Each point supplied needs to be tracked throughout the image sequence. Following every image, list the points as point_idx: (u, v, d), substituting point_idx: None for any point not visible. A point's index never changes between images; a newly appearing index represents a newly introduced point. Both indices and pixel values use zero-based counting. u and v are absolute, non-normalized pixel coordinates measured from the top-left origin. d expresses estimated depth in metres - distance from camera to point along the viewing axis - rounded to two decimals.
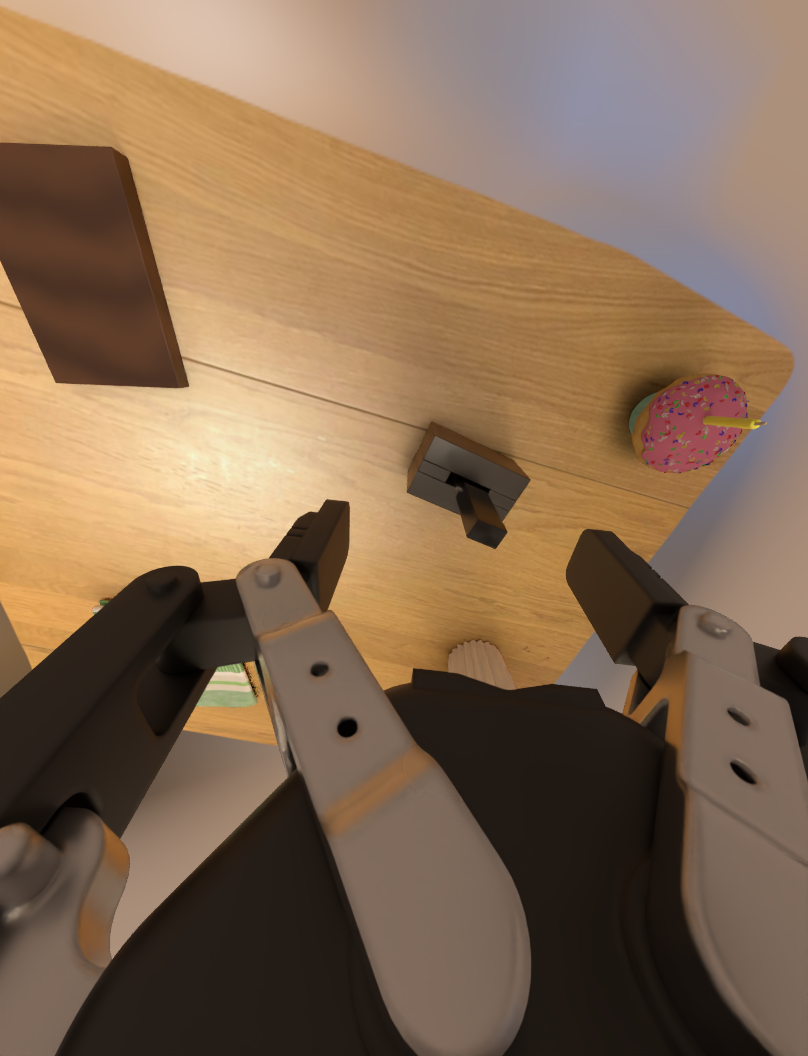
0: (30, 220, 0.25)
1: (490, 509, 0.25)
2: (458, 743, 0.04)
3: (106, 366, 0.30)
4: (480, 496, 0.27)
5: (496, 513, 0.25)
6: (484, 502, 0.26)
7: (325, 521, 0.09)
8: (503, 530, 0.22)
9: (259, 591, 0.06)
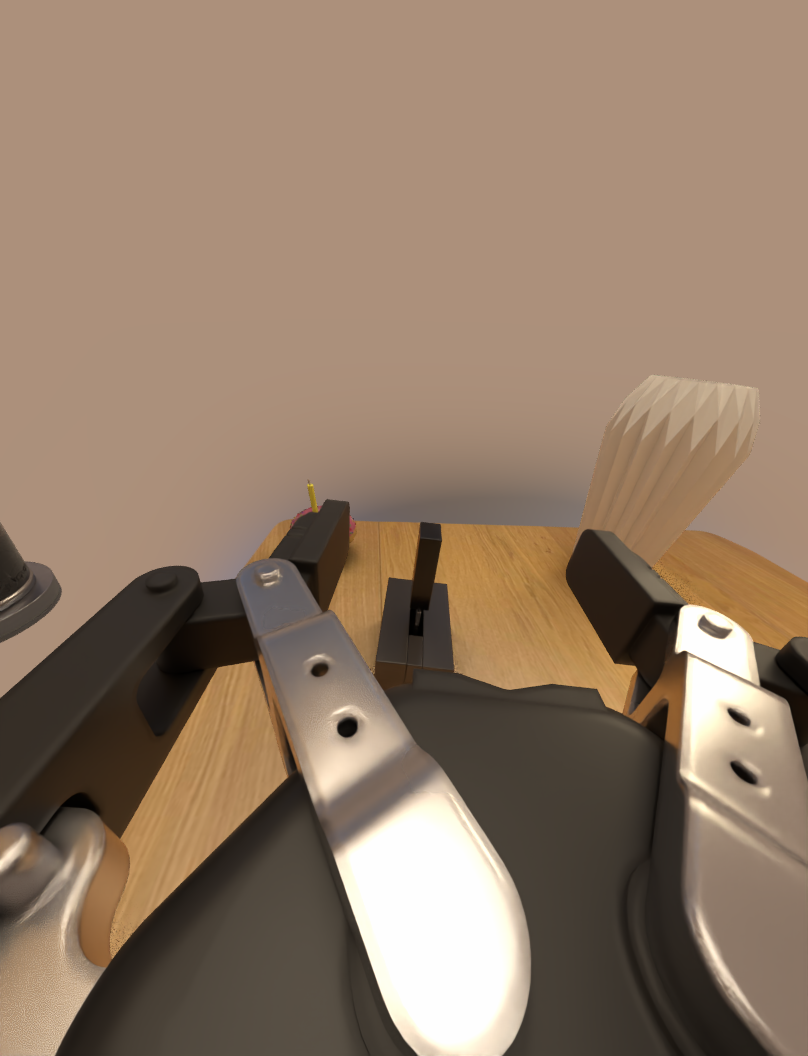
0: None
1: (415, 557, 0.26)
2: (458, 743, 0.04)
3: None
4: (412, 581, 0.27)
5: (416, 551, 0.26)
6: (414, 569, 0.26)
7: (325, 521, 0.09)
8: (420, 524, 0.25)
9: (259, 591, 0.06)
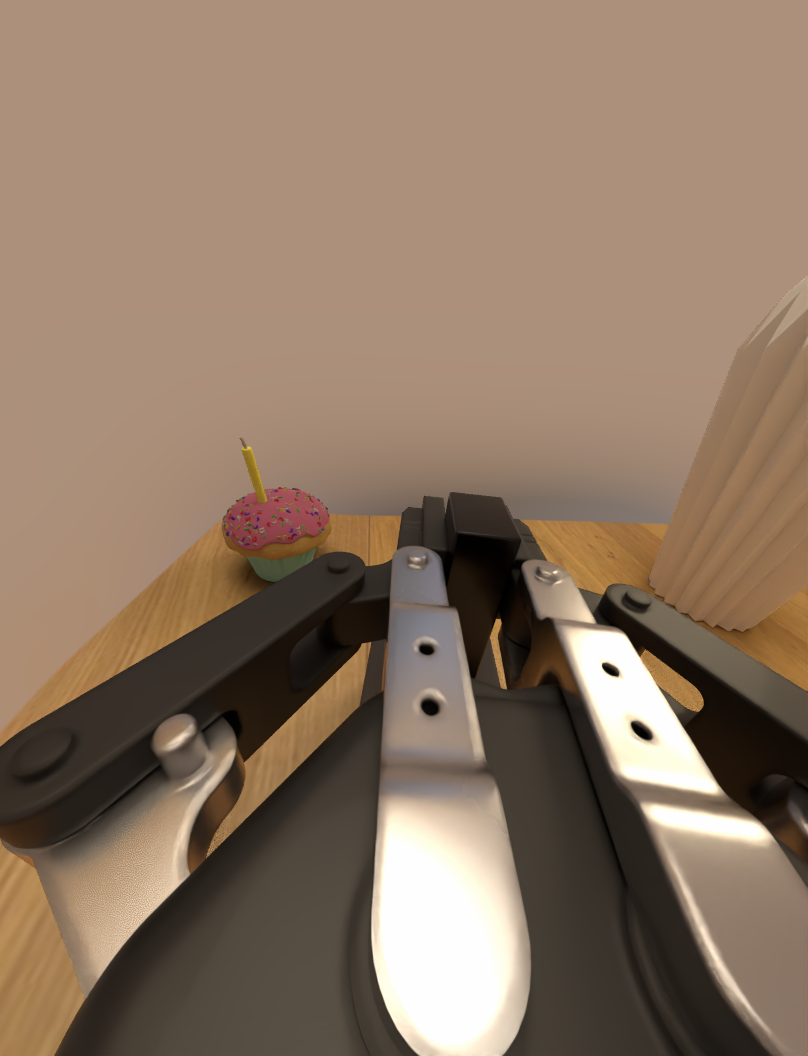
0: None
1: None
2: None
3: None
4: None
5: None
6: None
7: (435, 515, 0.10)
8: (451, 497, 0.09)
9: (419, 573, 0.07)
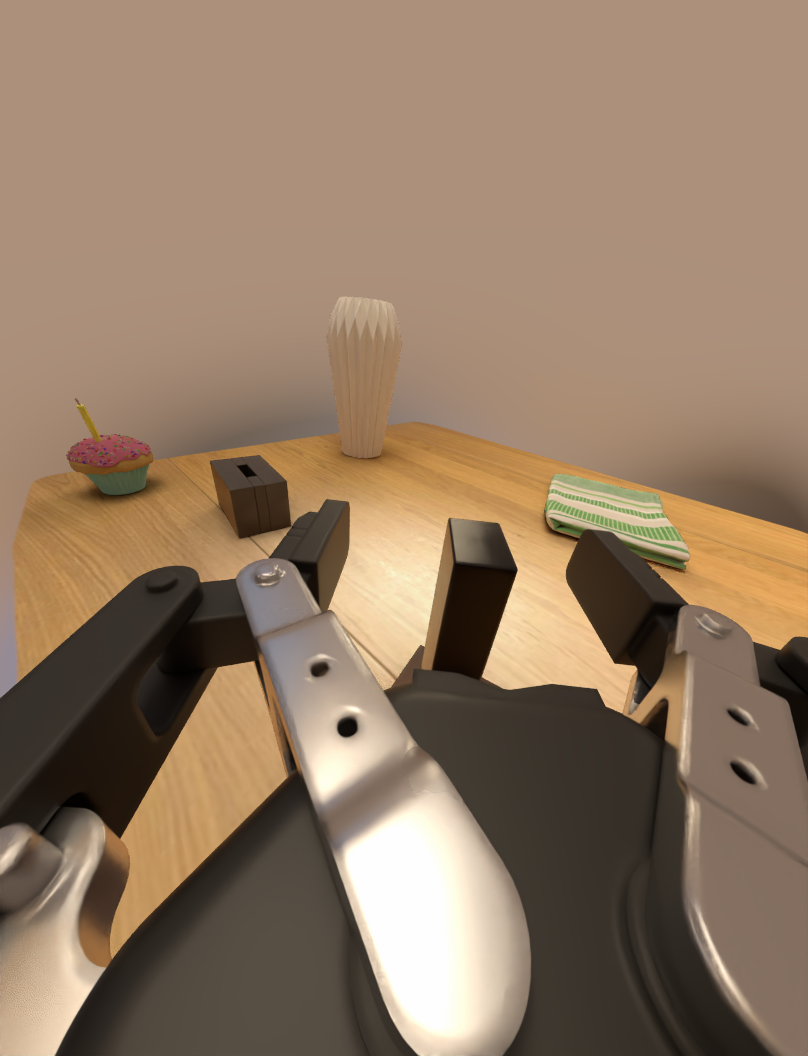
0: None
1: (435, 604, 0.11)
2: (458, 743, 0.04)
3: None
4: (427, 656, 0.11)
5: (436, 588, 0.11)
6: (431, 631, 0.11)
7: (325, 521, 0.09)
8: (450, 523, 0.10)
9: (259, 591, 0.06)
